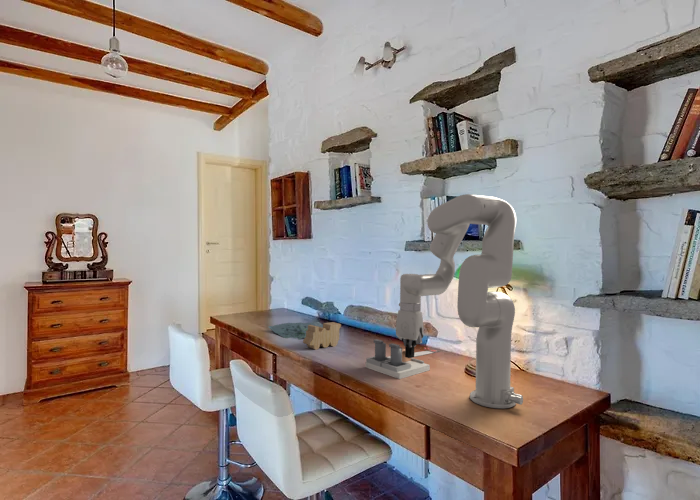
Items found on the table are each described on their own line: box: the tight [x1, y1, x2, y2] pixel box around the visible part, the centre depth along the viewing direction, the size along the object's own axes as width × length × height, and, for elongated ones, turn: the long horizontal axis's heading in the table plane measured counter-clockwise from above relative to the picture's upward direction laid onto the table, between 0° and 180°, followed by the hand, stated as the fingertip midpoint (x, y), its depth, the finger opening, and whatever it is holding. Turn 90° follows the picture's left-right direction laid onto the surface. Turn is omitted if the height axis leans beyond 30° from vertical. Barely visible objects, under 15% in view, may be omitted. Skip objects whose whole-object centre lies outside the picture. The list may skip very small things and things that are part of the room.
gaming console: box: [412, 347, 441, 358], centre depth 169 cm, size 22×1×10 cm
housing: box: [365, 339, 431, 380], centre depth 146 cm, size 17×16×10 cm
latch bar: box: [402, 348, 411, 362], centre depth 149 cm, size 2×6×4 cm, turn 130°
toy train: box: [302, 321, 342, 351], centre depth 178 cm, size 6×17×10 cm, turn 130°
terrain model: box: [267, 321, 323, 340], centre depth 207 cm, size 26×28×5 cm
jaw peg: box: [388, 343, 403, 367], centre depth 141 cm, size 5×4×8 cm
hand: (409, 357), depth 147 cm, fingers closed
